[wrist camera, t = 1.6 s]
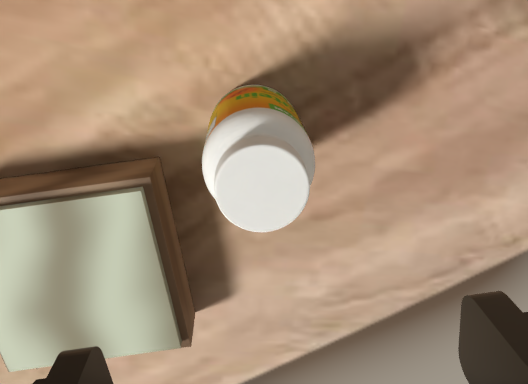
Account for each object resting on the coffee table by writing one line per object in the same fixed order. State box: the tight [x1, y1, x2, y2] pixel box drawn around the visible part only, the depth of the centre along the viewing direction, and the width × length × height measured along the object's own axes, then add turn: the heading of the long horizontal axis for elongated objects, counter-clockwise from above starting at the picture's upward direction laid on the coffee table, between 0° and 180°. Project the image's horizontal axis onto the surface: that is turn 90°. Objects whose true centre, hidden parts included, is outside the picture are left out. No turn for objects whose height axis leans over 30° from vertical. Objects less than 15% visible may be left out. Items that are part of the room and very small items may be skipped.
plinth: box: [0, 157, 195, 372], centre depth 28 cm, size 12×12×4 cm
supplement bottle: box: [202, 85, 315, 232], centre depth 23 cm, size 5×5×10 cm
